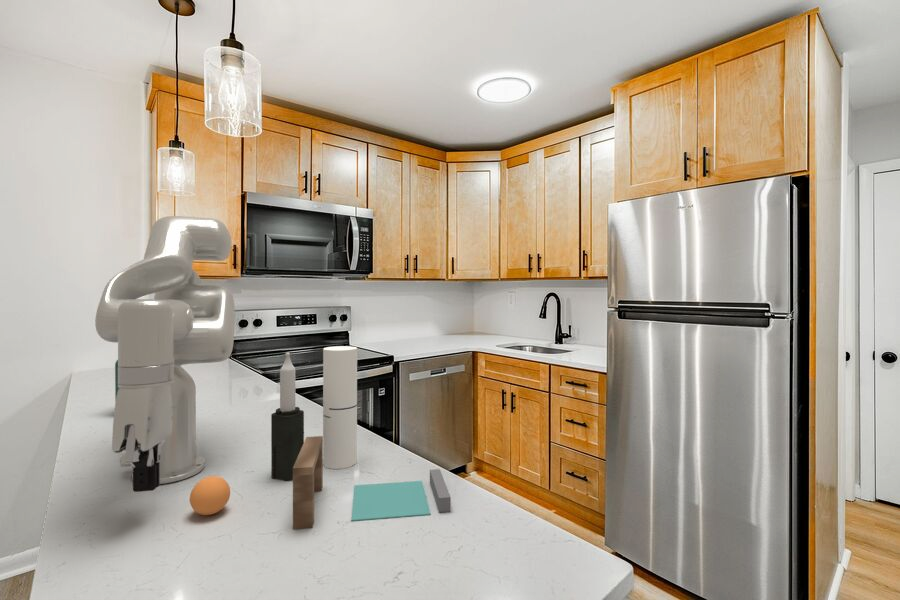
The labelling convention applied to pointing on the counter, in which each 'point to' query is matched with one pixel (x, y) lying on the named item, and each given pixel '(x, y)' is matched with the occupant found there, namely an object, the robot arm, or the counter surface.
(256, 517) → the counter surface
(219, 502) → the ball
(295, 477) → the bridge
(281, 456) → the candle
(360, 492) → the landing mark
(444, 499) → the wall
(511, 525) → the counter surface
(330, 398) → the cylindrical container
